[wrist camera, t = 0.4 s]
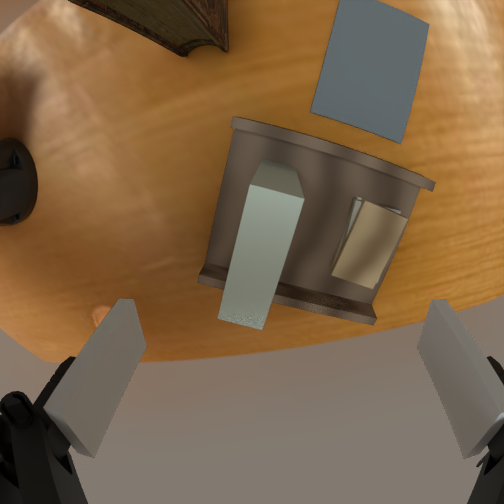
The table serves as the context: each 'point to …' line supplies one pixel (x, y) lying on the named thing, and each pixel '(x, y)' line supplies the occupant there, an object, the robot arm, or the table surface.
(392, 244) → the offcut oak
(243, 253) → the upright sage slab
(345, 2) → the mat
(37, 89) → the table surface
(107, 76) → the table surface
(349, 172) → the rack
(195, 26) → the book
